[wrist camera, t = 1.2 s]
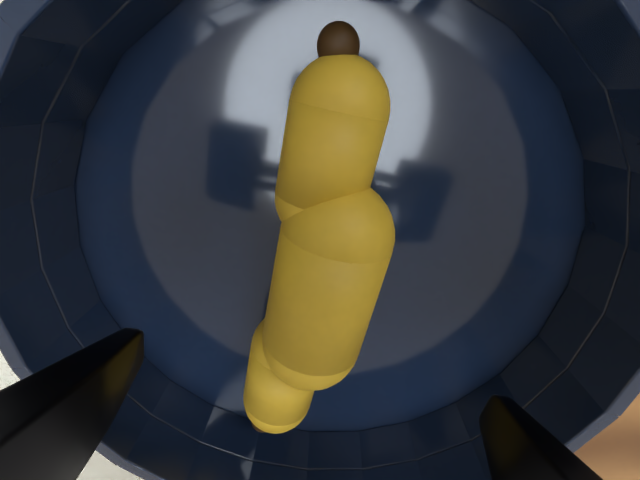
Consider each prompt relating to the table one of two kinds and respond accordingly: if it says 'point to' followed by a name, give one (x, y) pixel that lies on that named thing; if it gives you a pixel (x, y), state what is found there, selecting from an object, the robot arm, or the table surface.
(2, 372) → the table surface
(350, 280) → the banana
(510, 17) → the shallow blue dish
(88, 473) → the table surface
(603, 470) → the cutting board
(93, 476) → the table surface
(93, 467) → the table surface
